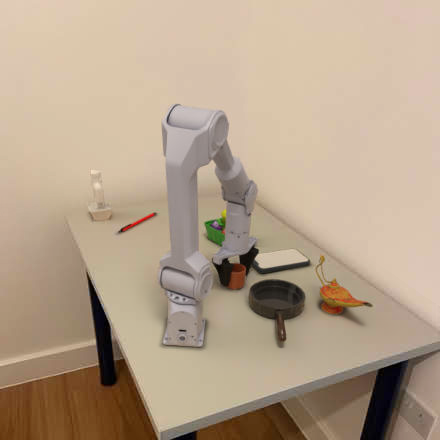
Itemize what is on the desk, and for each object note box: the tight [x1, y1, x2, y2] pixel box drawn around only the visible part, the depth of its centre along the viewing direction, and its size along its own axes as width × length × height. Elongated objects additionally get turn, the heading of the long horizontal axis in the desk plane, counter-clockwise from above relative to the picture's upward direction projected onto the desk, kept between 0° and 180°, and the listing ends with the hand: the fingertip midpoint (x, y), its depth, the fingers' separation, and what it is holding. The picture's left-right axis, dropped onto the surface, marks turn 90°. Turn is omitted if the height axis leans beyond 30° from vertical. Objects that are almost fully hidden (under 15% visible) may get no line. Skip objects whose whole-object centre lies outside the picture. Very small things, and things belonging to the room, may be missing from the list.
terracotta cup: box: [226, 262, 247, 290], centre depth 109 cm, size 5×5×5 cm
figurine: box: [86, 168, 114, 221], centre depth 139 cm, size 7×9×15 cm
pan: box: [248, 278, 306, 320], centre depth 103 cm, size 13×13×3 cm
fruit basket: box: [203, 208, 226, 247], centre depth 129 cm, size 11×9×11 cm
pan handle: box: [275, 310, 287, 343], centre depth 93 cm, size 11×2×2 cm, turn 178°
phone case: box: [251, 248, 311, 274], centre depth 121 cm, size 9×2×16 cm
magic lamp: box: [315, 254, 374, 315], centre depth 99 cm, size 7×18×11 cm, turn 30°
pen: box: [117, 212, 157, 233], centre depth 140 cm, size 1×19×1 cm, turn 151°
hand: (234, 279), depth 110 cm, fingers open, 7 cm apart
